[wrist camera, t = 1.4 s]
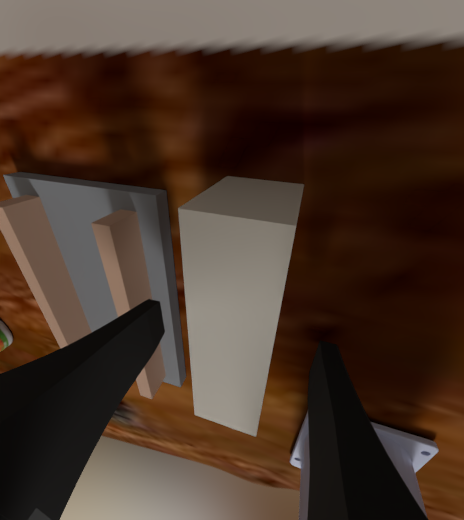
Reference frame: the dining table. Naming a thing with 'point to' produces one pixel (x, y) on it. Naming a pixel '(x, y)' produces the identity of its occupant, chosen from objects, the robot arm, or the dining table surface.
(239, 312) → the beige rectangular block
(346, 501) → the robot arm
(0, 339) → the supplement bottle
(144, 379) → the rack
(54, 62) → the dining table surface
